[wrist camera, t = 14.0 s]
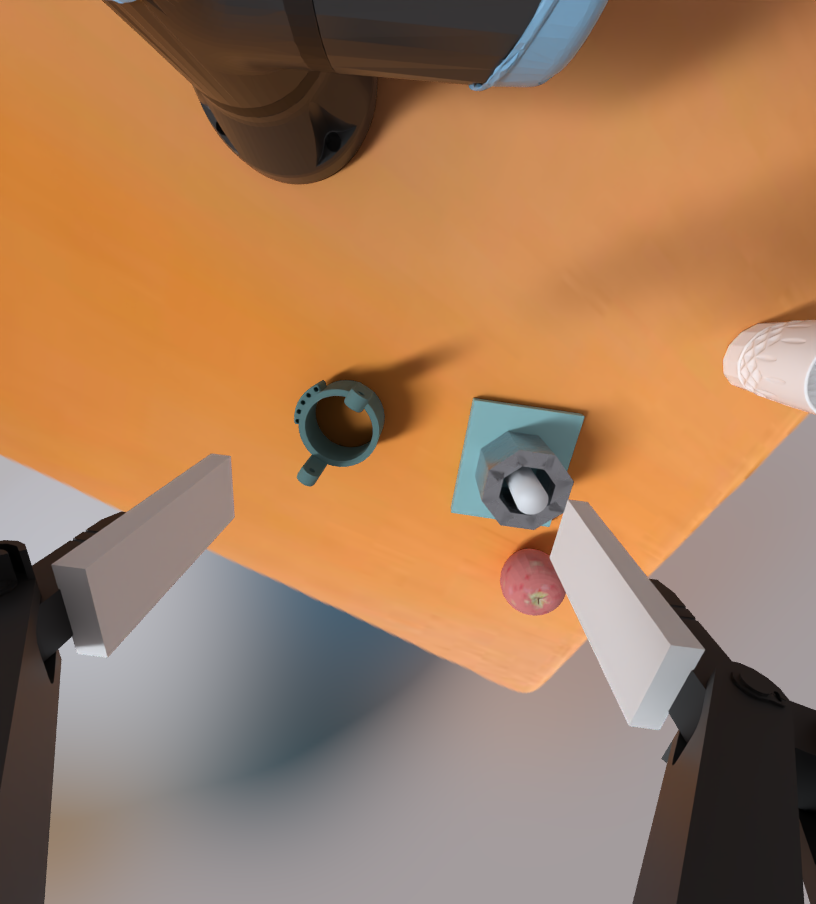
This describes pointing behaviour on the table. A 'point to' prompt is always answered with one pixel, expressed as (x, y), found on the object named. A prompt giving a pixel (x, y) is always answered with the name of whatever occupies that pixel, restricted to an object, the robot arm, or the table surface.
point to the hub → (510, 457)
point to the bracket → (318, 442)
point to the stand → (522, 483)
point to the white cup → (776, 362)
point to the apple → (531, 582)
